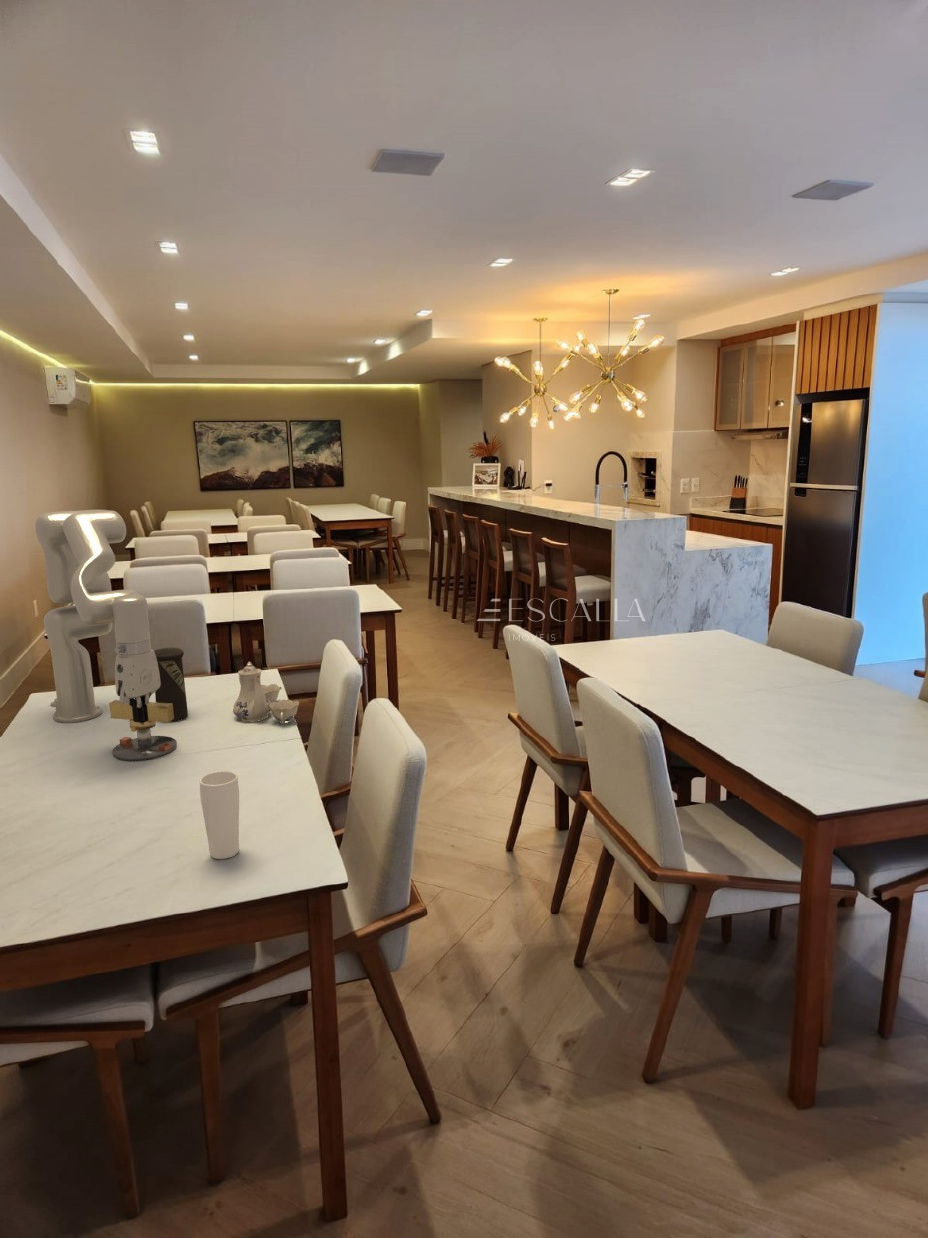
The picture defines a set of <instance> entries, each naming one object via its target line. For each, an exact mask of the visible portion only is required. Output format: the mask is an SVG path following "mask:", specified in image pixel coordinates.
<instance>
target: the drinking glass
mask: <svg viewBox="0 0 928 1238" xmlns="http://www.w3.org/2000/svg"><path fill="white" fill-rule="evenodd" d="M238 779H239V778H238V775H237V773H235V772H232V771H227V770H222V771H215V772H214V771H213V772H210V773H207V774H205V775H203V776H202V777H201V778H200V779H199V794H200V804H201V810H202V815H203V821H204V824H205V825H204V826H205V827H204V828H205V831H206V836H207V843H208V851H209V856H210V857H211V858H213V859H216V860H227V859H230V858H232V857H234V856H236V855H237V854H239V851H240V839H239V837H240V836H239V835H240V828H239V827H240V789H239V788H240V786H239V780H238Z"/></svg>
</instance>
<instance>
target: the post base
mask: <svg viewBox="0 0 928 1238" xmlns="http://www.w3.org/2000/svg"><path fill="white" fill-rule="evenodd" d="M118 741H119V744H117V745H115V746H114V747H113V749H112V756H113V758H115V759H116V760H119V761H121V762H122V761H123V762H143V761H144V762H145V761H151V760H155V759H158V758H162V757H164V756H168V755H170V754H172V753H173V752H174V751H175V750H176V749H177V748H178V742H177V740H176V739H175V738H173V737H171V736H166V735H152V732H151V728H150V729H146V730H137V731H136V737H135V738H132V737H128V736H124V737H122V738H119V740H118Z"/></svg>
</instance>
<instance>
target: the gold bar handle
mask: <svg viewBox="0 0 928 1238" xmlns="http://www.w3.org/2000/svg"><path fill="white" fill-rule="evenodd" d="M119 700H120V699H115V700H113V701H110V702H109V703H108V704H109V713H110V714H109V715H110V719H115V720H116V719H117V720H118V719H119V720H129V721H128V722H129V728H130V732H131V733H132V732H133V733H134V732H137V730H146V729H150V730H151V729H152V728H155V727H156V726H157V723H156V722H163V723H170V722H169V721H171V720H173V719H174V714H173V704H172V703H156V701H155V702H154V701H153V702H152V701H151V702H150V701H149V704H148V705H147V709H148V721H147V722H144V723H138V722H134V721H133V713H132V707H130V706H129V704H122V703H120V702H119Z"/></svg>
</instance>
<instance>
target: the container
mask: <svg viewBox="0 0 928 1238" xmlns="http://www.w3.org/2000/svg"><path fill="white" fill-rule="evenodd" d="M153 650H154V652H155V655H156V659H157V663H158V668H159V674H160V687H159V689H157V691H156V692H155V693H154V697H155V703H172V704H173V714H174V719H173V720H171V721H169V722H168V723H174V722H175V723H176V722H181V721H184V720H187V718H188V717H189V713H188V702H187V692H186V685H185V684H186V683H185V675H184V664H183V657H184V654H185V652H184V650H183V649H181V648H180V647H179V648H178V647H164V648H163V647H162V648H158V649H157V648H156V649H153Z"/></svg>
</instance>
